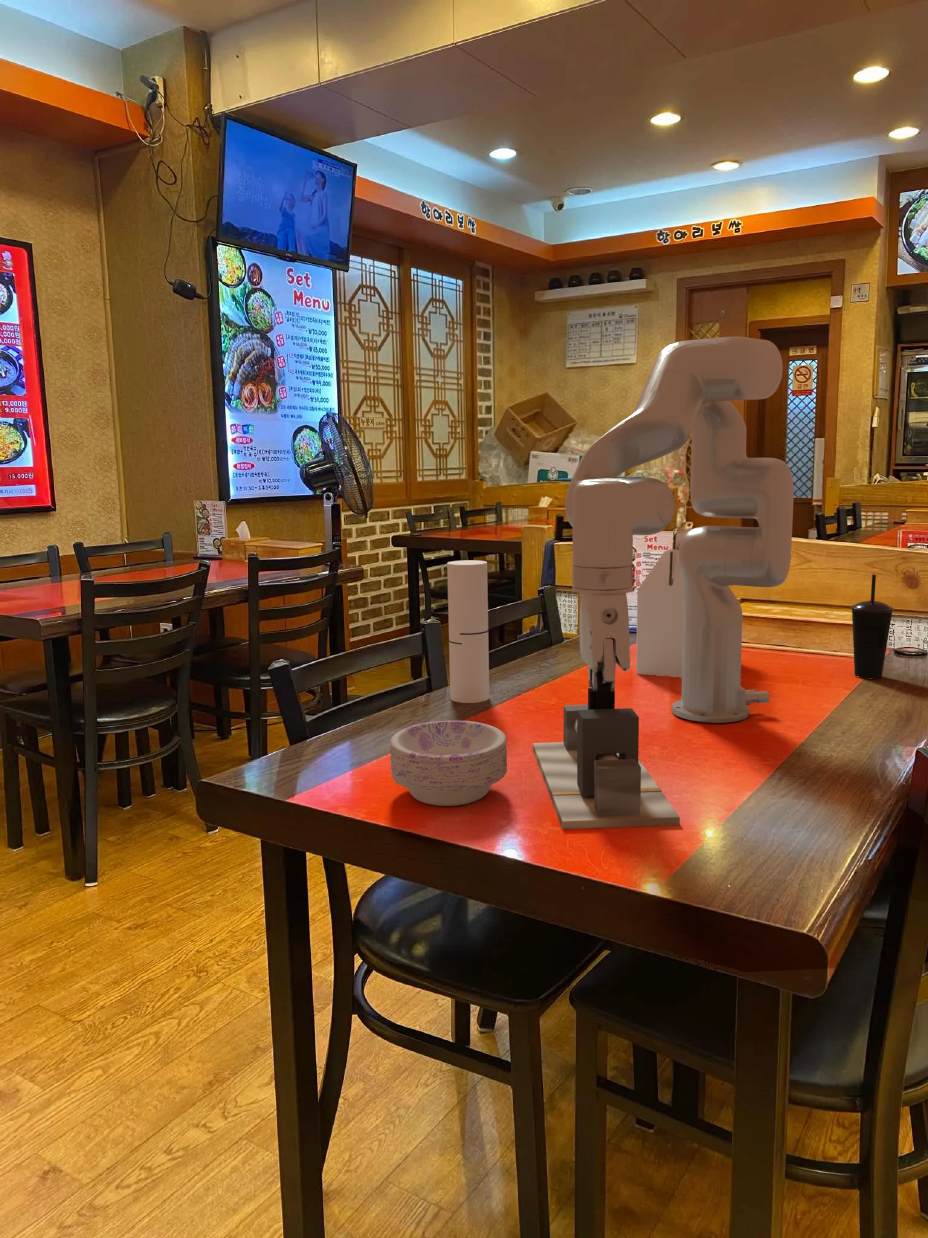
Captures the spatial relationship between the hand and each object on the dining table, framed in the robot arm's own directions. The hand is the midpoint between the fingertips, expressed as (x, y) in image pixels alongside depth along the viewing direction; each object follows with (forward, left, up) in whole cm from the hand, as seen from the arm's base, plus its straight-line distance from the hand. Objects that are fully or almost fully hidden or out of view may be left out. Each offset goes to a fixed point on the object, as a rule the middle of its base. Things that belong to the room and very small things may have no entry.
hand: (601, 718), depth 119 cm
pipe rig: (0, -3, -10) cm, 10 cm away
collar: (0, +4, -8) cm, 9 cm away
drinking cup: (-63, -56, -10) cm, 85 cm away
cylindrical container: (+15, -49, -10) cm, 52 cm away
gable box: (-30, -70, -10) cm, 76 cm away
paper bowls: (+20, -1, -10) cm, 22 cm away
